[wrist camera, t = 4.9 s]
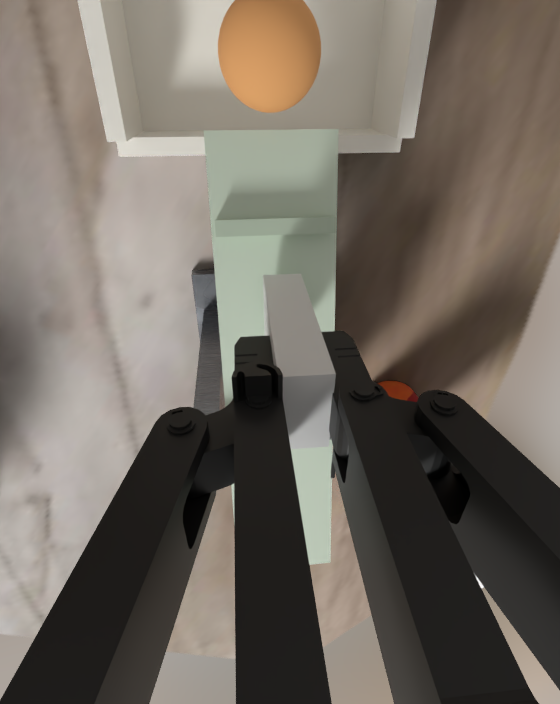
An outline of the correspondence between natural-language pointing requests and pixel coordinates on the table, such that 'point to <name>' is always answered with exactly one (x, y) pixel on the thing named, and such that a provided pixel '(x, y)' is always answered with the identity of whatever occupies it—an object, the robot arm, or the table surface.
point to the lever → (276, 262)
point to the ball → (269, 52)
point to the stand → (208, 344)
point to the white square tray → (216, 97)
